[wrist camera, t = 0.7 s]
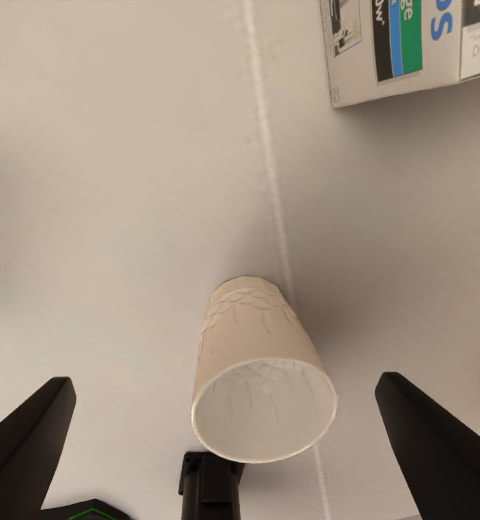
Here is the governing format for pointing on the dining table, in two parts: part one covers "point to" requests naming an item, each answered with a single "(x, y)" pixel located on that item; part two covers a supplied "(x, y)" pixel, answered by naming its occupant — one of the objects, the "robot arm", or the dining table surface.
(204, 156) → the dining table surface
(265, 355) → the white cup
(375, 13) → the light bulb box
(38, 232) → the dining table surface
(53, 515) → the computer mouse
